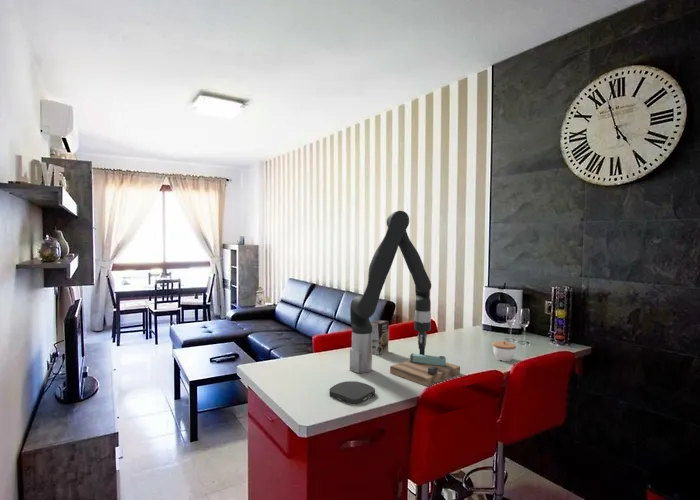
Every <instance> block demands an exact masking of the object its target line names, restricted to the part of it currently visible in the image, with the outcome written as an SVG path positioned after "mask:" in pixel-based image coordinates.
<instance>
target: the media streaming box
mask: <svg viewBox="0 0 700 500" xmlns="http://www.w3.org/2000/svg"><path fill="white" fill-rule="evenodd" d="M328 390H329V392H328V393H329V397H330V398H332V399H334V400H337V401H340V402H342V403H345V404H347V405H360V404H363V403H364V402H367V401H368V399H369V400H371V399H372V398H374V397H376V388H375V387H373V386H372V385H369V384H367V383H364V382H361V381H355V380H354V381H353V380H352V381H351V380H349V381H348V380H347V381H342V382H338V383H336V384H334V385H333V386H331V387H330V388H329V389H328ZM373 396H374V397H373ZM371 397H372V398H371ZM370 398H371V399H370Z"/></svg>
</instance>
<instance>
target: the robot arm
mask: <svg viewBox="0 0 700 500" xmlns="http://www.w3.org/2000/svg"><path fill="white" fill-rule="evenodd" d="M409 225H410V216H409V215H408V213H407V212H406V211H404V210H396V211H393V212H392V213H390V215H388V217H387V218H386V226H387V230H386V232H385V235H384V238H383V239H382V240H381V243H379V244H378V247H377V248H376V250H375V251H374V253H373V256H372V259H371V260H370V263H369V266H368V274H367V275H368V276H367V284H366V288H365V291H364V293H363V295H361V294H360V295H356V296H354V297H353V298H352V300H351V302H350V308H349V309H350V310H349V313H350V314H349V315H350V325H351V348H350V349H349V371H352V372H354V373H357V374H364V373H370V372H372V371H373V369H372V368H373V365H372V364H373V353H372V330H373V328H372V325H371V323H370V322H371V321H370V318H371V317H373V315H374V313H375V312H376V309H377V307H378V304H379V299H380V296H381V293H382V290H383V288H384V285H385V282H386V279H387V277H388V274H389V272H390V270H391V268H392V265H393V263H394V259H395V256H396V254H397V251H398V247H399V250H400V252H401V254H402V257H403V259H404V262H405V264H406V266H407V268H408V270H409V273H410V275H411V277H412V280H413V283H414V291H415V301H414V315H413V316H414V318H413V319H414V322H413V324H414V325H413V328H414V331H416V332H418V334H417V345H418V350H419V354H421V355H426V353H425V352H426V351H425V350H426V346H427V345H426V344H427V338H428V332H430V331H431V330H432V327H431V326H432V313H431V310H432V309H431V308H432V307H431V305H432V303H431V299H430V298H431V297H430V295H431V289H432V282H431V280H430V278H429V275H428V274H427V272H426V269H425V266H424V263H423V261H422V258H421V255H420V254H419V252H418V251H417V249H416V247H415V246H414V245H413V243H412V241H411V239H410V238H409V235H408V232H407V228H408V227H409ZM426 332H427V333H426Z"/></svg>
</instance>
